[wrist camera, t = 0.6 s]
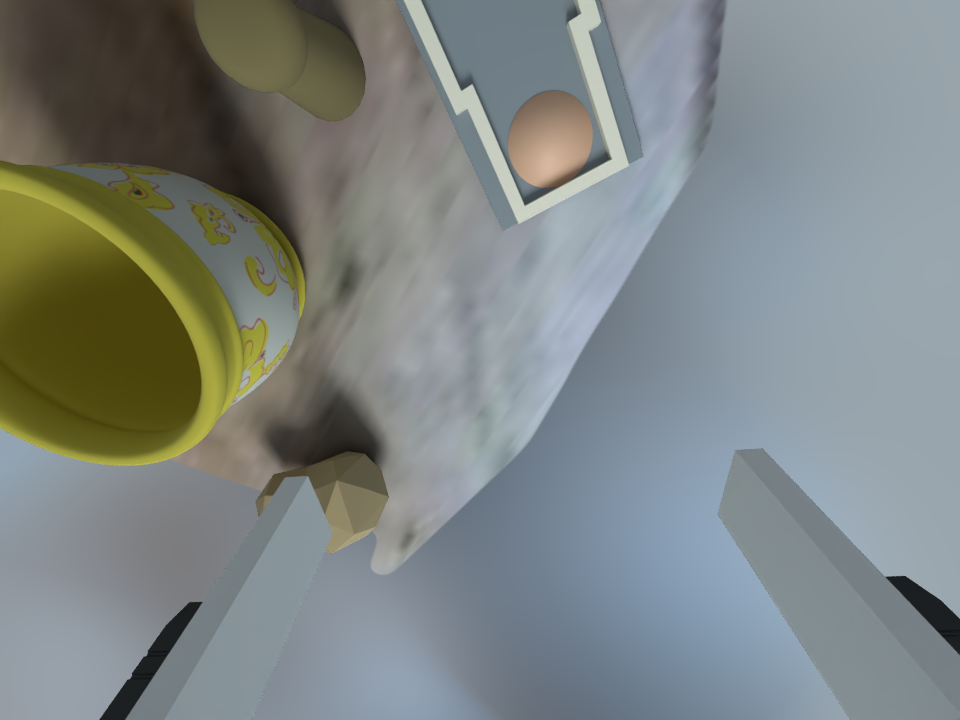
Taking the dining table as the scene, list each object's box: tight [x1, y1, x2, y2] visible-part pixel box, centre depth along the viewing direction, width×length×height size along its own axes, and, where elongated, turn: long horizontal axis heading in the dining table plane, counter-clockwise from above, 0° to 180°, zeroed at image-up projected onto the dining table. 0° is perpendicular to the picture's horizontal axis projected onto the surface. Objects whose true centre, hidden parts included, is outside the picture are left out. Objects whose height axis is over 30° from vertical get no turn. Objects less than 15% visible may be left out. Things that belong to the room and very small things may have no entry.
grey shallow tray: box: [396, 0, 643, 231], centre depth 26 cm, size 20×12×2 cm, turn 27°
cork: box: [193, 0, 366, 121], centre depth 23 cm, size 6×6×11 cm
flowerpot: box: [0, 161, 306, 466], centre depth 28 cm, size 18×18×16 cm
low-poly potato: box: [256, 451, 389, 553], centre depth 41 cm, size 15×11×12 cm
